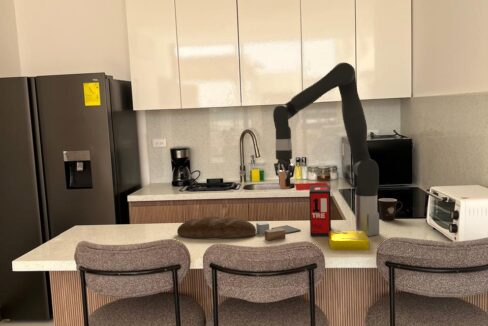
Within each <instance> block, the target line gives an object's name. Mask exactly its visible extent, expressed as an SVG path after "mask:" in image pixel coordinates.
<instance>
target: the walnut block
mask: <svg viewBox="0 0 488 326" xmlns="http://www.w3.org/2000/svg"><path fill="white" fill-rule="evenodd" d="M264 239H265V240H266V241H268V242H273V241H279V240H285V239H286V234H285V230H284V229H282V228H277V229H271V228H270V229H269V230H265V234H264Z"/></svg>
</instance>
